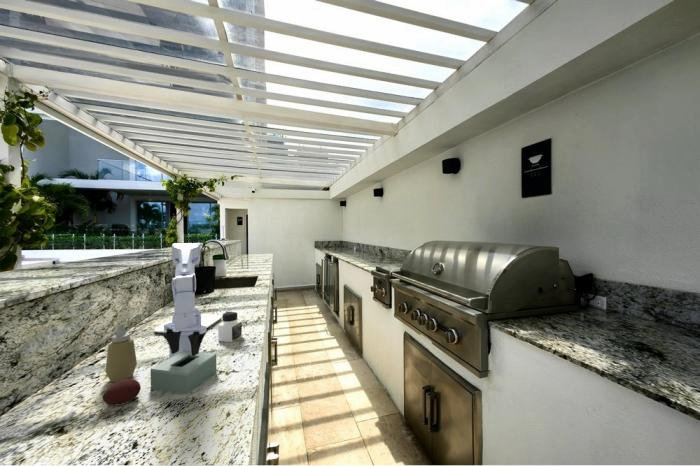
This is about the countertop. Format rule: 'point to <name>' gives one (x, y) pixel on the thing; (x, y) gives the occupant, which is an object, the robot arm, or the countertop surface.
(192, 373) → the box
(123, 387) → the potato
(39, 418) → the countertop surface
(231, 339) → the medicine bottle
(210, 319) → the plate
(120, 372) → the squeeze bottle
